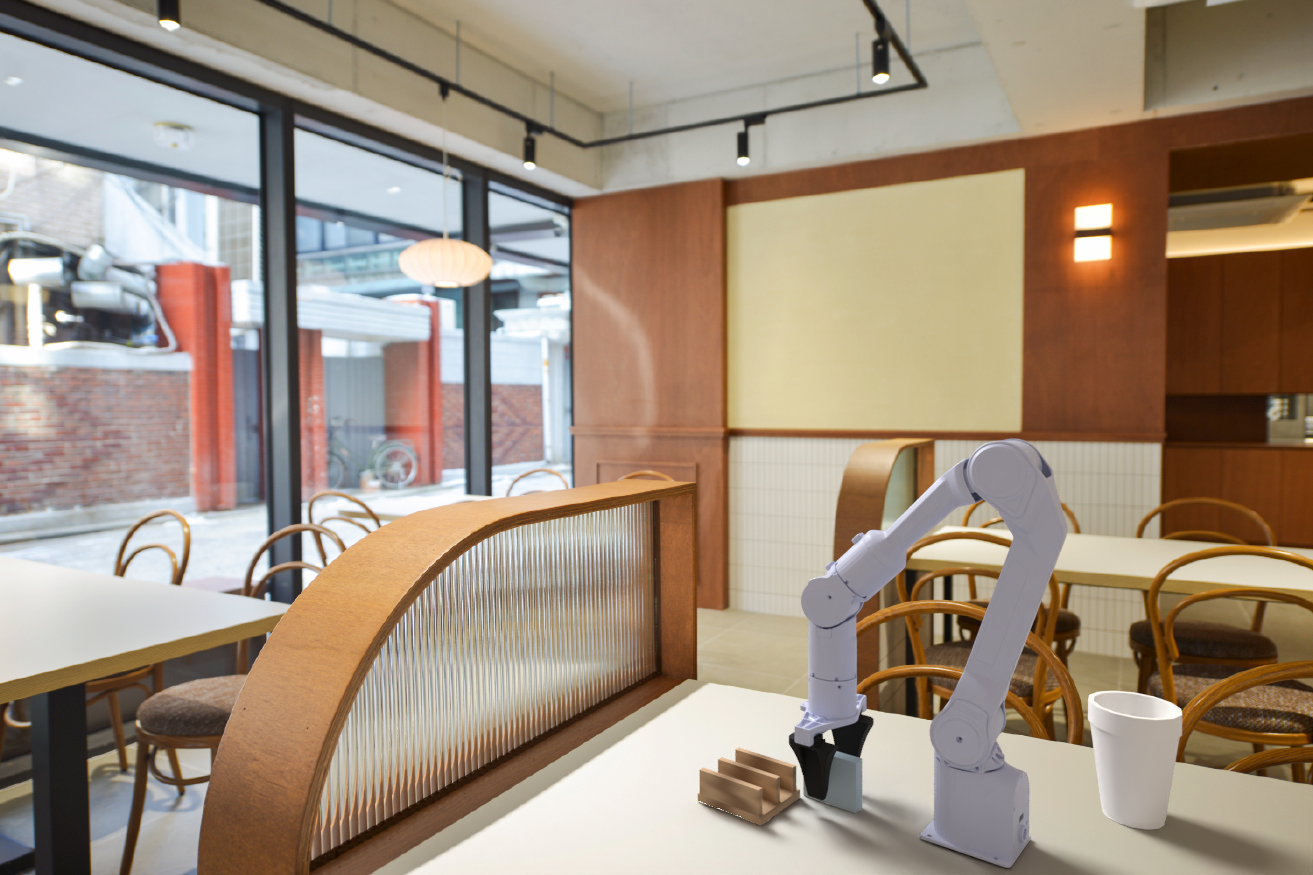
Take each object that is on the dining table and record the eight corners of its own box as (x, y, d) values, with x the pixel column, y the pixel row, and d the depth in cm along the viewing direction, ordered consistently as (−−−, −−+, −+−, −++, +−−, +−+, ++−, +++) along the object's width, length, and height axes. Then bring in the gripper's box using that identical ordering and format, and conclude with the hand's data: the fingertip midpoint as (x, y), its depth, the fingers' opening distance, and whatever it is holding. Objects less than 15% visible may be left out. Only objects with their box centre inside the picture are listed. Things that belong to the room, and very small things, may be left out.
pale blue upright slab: (862, 808, 95) (862, 758, 95) (856, 813, 94) (856, 763, 94) (809, 791, 100) (809, 743, 100) (803, 795, 99) (803, 747, 98)
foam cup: (1068, 804, 96) (1069, 696, 96) (1125, 791, 99) (1126, 686, 99) (1141, 843, 87) (1142, 724, 87) (1201, 827, 90) (1202, 713, 90)
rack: (800, 797, 98) (800, 764, 98) (760, 825, 91) (760, 790, 91) (738, 776, 104) (738, 745, 104) (697, 801, 97) (697, 768, 97)
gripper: (831, 653, 105) (830, 756, 105) (771, 682, 94) (771, 797, 94) (882, 664, 100) (881, 771, 100) (826, 695, 89) (826, 816, 89)
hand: (832, 785), depth 97 cm, fingers open, 7 cm apart
